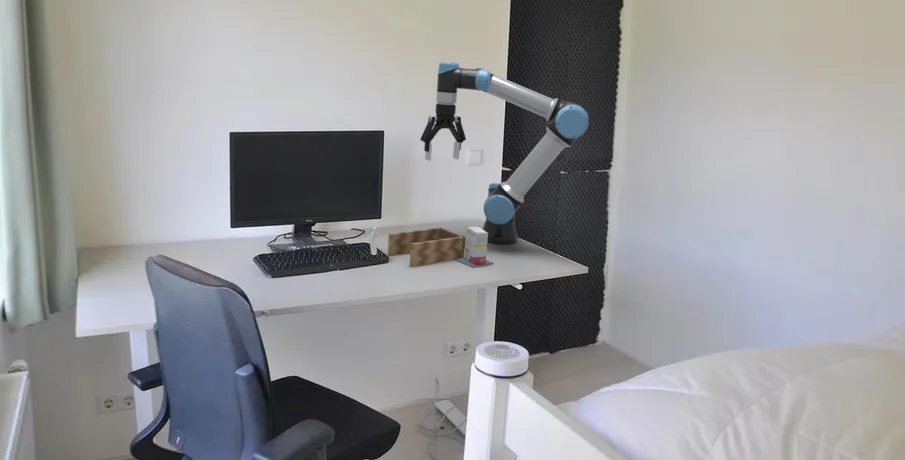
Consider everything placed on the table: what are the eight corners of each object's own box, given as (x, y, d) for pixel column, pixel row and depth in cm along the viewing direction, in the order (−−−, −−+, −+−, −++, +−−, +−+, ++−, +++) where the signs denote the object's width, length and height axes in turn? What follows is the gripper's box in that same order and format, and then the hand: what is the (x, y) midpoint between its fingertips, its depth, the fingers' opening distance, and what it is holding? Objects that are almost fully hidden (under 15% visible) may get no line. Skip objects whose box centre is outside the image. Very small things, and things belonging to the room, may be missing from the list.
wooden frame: (439, 247, 273) (440, 227, 271) (463, 258, 261) (465, 237, 259) (387, 255, 258) (388, 233, 256) (411, 266, 247) (412, 244, 245)
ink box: (486, 264, 255) (488, 232, 252) (473, 264, 253) (476, 232, 250) (476, 257, 262) (479, 226, 259) (464, 257, 260) (466, 226, 257)
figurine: (371, 252, 259) (372, 221, 256) (389, 258, 254) (391, 226, 251) (354, 257, 252) (355, 224, 249) (373, 263, 247) (374, 230, 244)
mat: (475, 256, 264) (475, 255, 264) (493, 264, 257) (493, 262, 257) (454, 260, 258) (455, 258, 258) (472, 267, 251) (472, 266, 251)
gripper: (465, 102, 278) (461, 156, 283) (413, 102, 262) (410, 159, 268) (477, 104, 272) (473, 159, 278) (425, 104, 257) (421, 162, 262)
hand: (442, 159), depth 273 cm, fingers open, 13 cm apart
